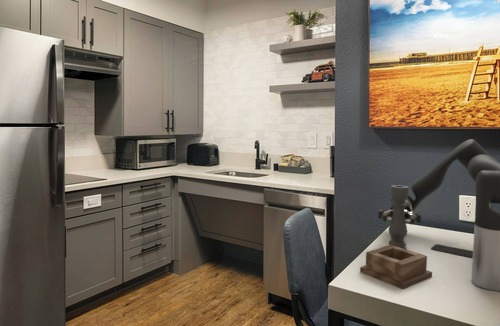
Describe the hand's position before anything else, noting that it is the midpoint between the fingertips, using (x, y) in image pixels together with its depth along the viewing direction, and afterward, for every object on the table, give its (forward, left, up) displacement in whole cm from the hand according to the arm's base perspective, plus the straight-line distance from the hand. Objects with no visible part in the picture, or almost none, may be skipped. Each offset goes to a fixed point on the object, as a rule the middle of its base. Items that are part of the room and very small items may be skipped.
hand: (398, 220), depth 128 cm
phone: (-8, -23, -14) cm, 28 cm away
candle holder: (+1, -1, -14) cm, 14 cm away
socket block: (-8, +13, -14) cm, 20 cm away
